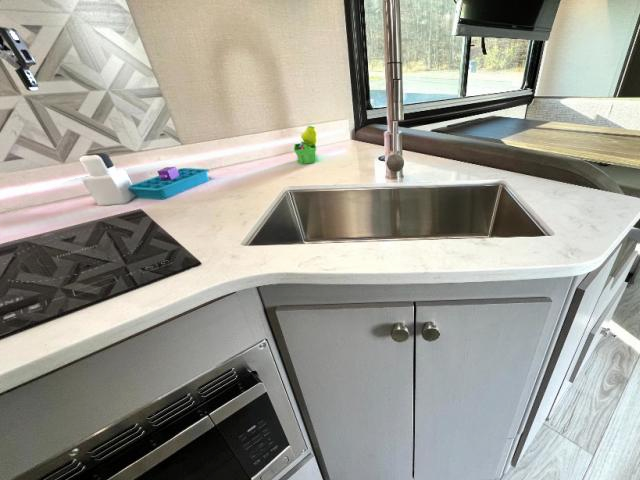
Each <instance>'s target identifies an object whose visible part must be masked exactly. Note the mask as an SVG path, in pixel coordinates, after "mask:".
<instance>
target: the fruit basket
mask: <svg viewBox="0 0 640 480" xmlns="http://www.w3.org/2000/svg"><path fill="white" fill-rule="evenodd" d="M317 135H318V132H317V130H316V127H315V126H313V125H308V126H307V128H306V129H305V130H304V131H303V133H302V134H301V135H300V136H301V141H300V143H299V142H298V143H294V144H293V151H294V153H295V154H296V157H297V159H298V161H299V163H300V164H301V165H307V164H316V154H317V152H316V151H317V143H318V136H317Z"/></svg>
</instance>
